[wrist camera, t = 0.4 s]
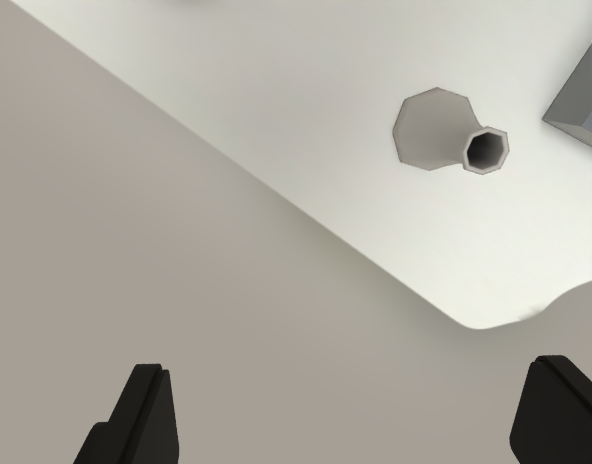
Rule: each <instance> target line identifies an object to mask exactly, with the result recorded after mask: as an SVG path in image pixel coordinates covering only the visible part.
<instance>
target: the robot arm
mask: <svg viewBox="0 0 592 464" xmlns="http://www.w3.org/2000/svg"><path fill="white" fill-rule="evenodd" d="M509 439H510V446H511V449H512V451H513V453H514V455H515V456H516V458H517V459H518V461H519V463H520V464H592V382H591V380H590V379H589V378H587V377H586V376H585V375H584V374H583V373H582V372H581V371H580V370H579V369H578V368H577V367H576V366H575V365H574V364H573V363H572V362H571V361H570V360H569V359H568V358H566V357H565V356H562V355H551V356H550V355H548V356H547V355H546V356H538V357H537V358H536V360H535V362H532V363H531V364H530V367H529V370H528V374H527V377H526V381H525V385H524V388H523V391H522V395H521V399H520V402H519V405H518V409H517V412H516V416H515V420H514V423H513V427H512V430H511V434H510V438H509ZM178 458H179V442H178V435H177V427H176V419H175V412H174V404H173V396H172V389H171V381H170V374H169V370H162V367H161V364H137V365H136V366H135V367H134V369H133V371H132V373H131V375H130V377H129V379H128V381H127V383H126V385H125V387H124V389H123V392H122V394H121V396H120V398H119V400H118V402H117V404H116V406H115V408H114V410H113V412H112V415H111V417H110V419H109V421H108V422H98V423H96V424H95V425H94V426H93V428H92V429H91V430H90V432H89V434H88V436H87V438H86V440H85V442H84V444H83V446H82V448H81V449H80V451H79V453H78V455H77V457H76V459H75V461H74V463H73V464H178Z"/></svg>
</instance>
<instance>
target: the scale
mask: <svg viewBox="0 0 592 464" xmlns="http://www.w3.org/2000/svg"><path fill="white" fill-rule="evenodd" d="M542 120H544V121H546V122H548V123H549V124H551V125H553V126H555V127H557V128H558V129H560V130H562V131H564V132H566V133H567V134H569V135H571V136H573V137H575V138H576V139H578V140H580V141H582V142H584V143H585V144H587V145H589V146H591V147H592V45H591V46H590V48H589V49H588V51H587V52H586V54H585V55H584V57H583V58H582V60H581V61H580V63H579V64H578V66H577V67H576V69H575V70H574V72H573V73H572V75H571V76H570V78H569V79H568V81H567V82H566V84H565V85H564V87H563V88H562V90H561V91H560V93H559V94H558V96H557V97H556V99H555V100H554V102H553V103H552V105H551V106H550V108H549V109H548V111H547V112H546V114H545V115H544V117H543V118H542Z"/></svg>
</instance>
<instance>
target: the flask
mask: <svg viewBox="0 0 592 464" xmlns="http://www.w3.org/2000/svg"><path fill="white" fill-rule="evenodd" d="M393 134H394V138H395V142H396V146H397V149H398V153H399V157H400V161H401V162H402V163H405V164H409V165H412V166H415V167H419V168H422V169H425V170H429V171H430V170H434V169H437V168H441V167H444V166H448V165H453V164H458V163H461V164H463V168H464V169H465V170H468V171H471V172H474V173H477V174H481V175H484V174H487V173H490V172H492V171H495V170H498V169H501V167H502V165H503V163H504V161H505V159H506V157H507V155H508V153H509V144H508V138H507V132H504V131H501V130H498V129H495V128H492V127H489V126H487V127H484V128H483V127H482V126H481V125H480V124H479V122H478V120H477V118H476V116H475V114H474V112H473V110H472V107H471V105H470V102H469V100H468V98H467V97H464V96H461V95H458V94H455V93H452V92H450V91H447V90H444V89H441V88H438V87H437V88H435V89H432V90H429V91H427V92H424V93H422V94H419V95H416V96H414V97H411V98H408V99H406V100H405V102H404V104H403V107H402V110H401V112H400V115H399V117H398V120H397V123H396V125H395V128H394V131H393Z"/></svg>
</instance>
